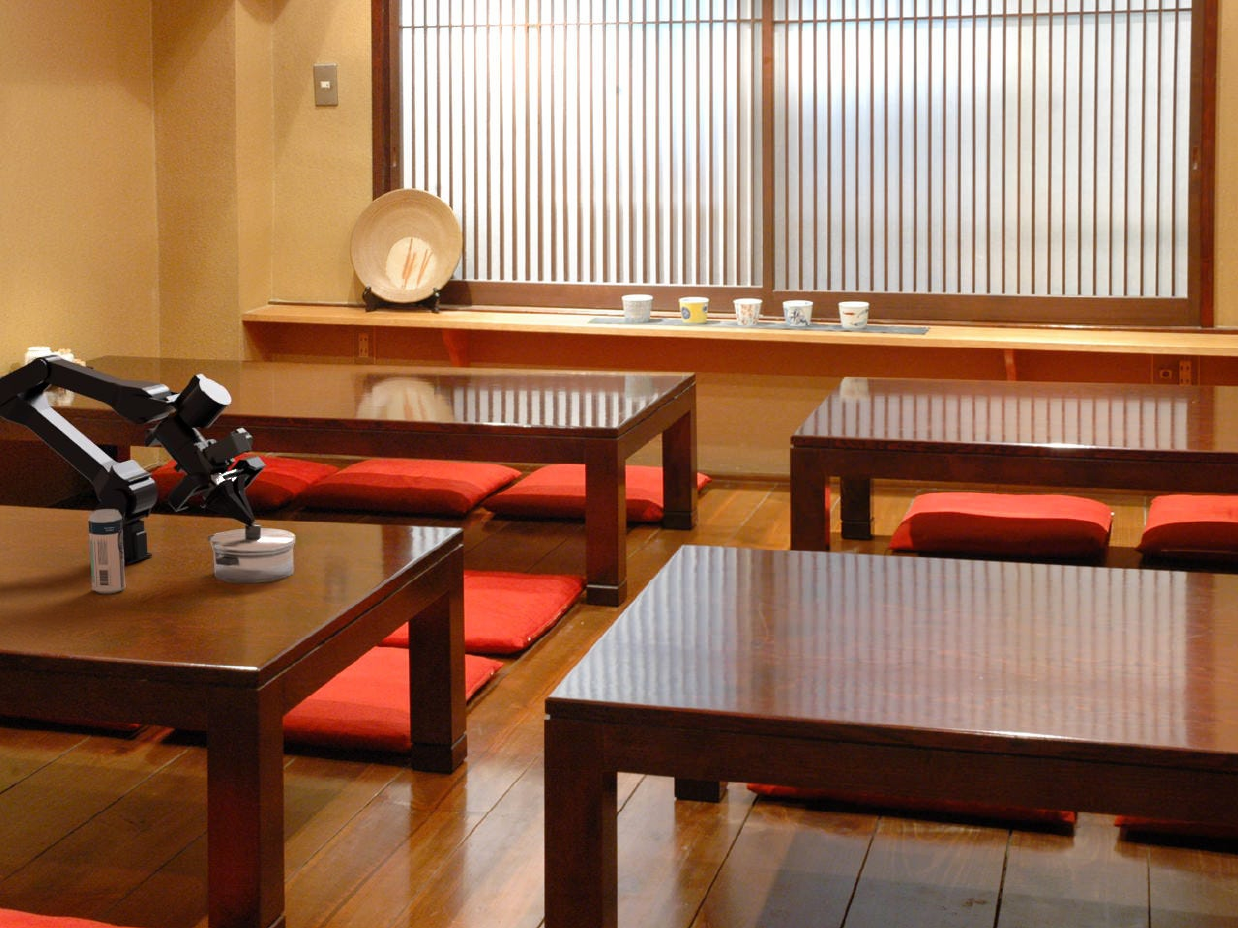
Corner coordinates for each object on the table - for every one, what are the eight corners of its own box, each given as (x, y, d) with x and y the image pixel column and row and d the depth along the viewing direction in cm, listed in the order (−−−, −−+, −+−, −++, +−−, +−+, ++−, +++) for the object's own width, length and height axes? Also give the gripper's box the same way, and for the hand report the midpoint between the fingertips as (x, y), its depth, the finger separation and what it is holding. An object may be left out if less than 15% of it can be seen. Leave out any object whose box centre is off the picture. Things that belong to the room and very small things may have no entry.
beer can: (132, 590, 237) (128, 511, 235) (103, 596, 233) (98, 516, 231) (114, 584, 240) (110, 506, 238) (85, 590, 236) (81, 511, 234)
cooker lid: (188, 547, 243) (187, 529, 243) (237, 529, 255) (236, 512, 254) (264, 556, 238) (264, 538, 238) (311, 538, 250) (310, 520, 249)
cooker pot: (189, 581, 242) (188, 550, 241) (250, 557, 257) (249, 528, 256) (258, 589, 238) (257, 558, 237) (316, 565, 252) (315, 535, 251)
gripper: (180, 423, 236) (246, 501, 234) (252, 405, 253) (315, 478, 251) (139, 472, 240) (204, 549, 238) (213, 451, 257) (274, 523, 255)
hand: (252, 523), depth 246 cm, fingers closed, pressing on cooker lid
